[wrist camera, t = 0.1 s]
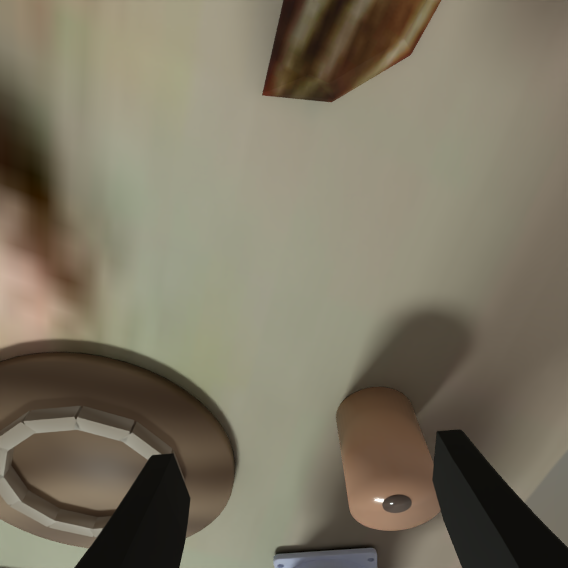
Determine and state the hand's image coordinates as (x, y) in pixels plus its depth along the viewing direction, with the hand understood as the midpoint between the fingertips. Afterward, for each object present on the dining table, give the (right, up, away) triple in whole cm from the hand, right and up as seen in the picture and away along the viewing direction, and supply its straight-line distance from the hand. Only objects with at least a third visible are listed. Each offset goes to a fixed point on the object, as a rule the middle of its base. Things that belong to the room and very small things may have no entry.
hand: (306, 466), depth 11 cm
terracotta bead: (+5, -3, +13) cm, 14 cm away
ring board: (-13, -6, +15) cm, 21 cm away
